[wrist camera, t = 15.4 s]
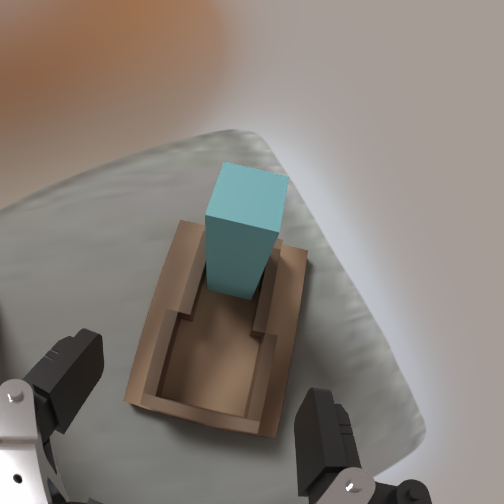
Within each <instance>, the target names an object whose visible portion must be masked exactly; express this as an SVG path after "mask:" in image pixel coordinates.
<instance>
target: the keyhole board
mask: <svg viewBox="0 0 504 504" xmlns="http://www.w3.org/2000/svg"><path fill="white" fill-rule="evenodd" d="M282 241H283V240H281V239H276V242H275V244H274V246H273V249H272V251H271V254H270V256H269V259H268V261H267V263H266V266H265V268H264V271H263V273H262V275H261V278H260V280H259V283H258V285H257V287H256V290H255V292H254V294H253V297H252V299H251V300H248V299H244V298H240V297H236V296H231V295H227V294H223V293H219V292H215V291H211V290H207V269H206V234H205V226H204V225H200V224H196V223H191V222H187V221H183V220H180V223H179V225H178V228H177V231H176V233H175V236H174V239H173V241H172V244H171V247H170V249H169V252H168V255H167V258H166V261H165V263H164V266H163V269H162V272H161V275H160V278H159V281H158V284H157V287H156V290H155V293H154V296H153V299H152V302H151V305H150V308H149V312H148V315H147V318H146V321H145V325H144V328H143V331H142V335H141V338H140V341H139V345H138V348H137V352H136V355H135V359H134V363H133V366H132V370H131V374H130V378H129V382H128V385H127V389H126V393H125V398H124V401H126V402H128V403H131V404H134V405H137V406H140V407H143V408H146V409H149V410H152V411H155V412H158V413H161V414H165V415H168V416H171V417H175V418H178V419H182V420H186V421H189V422H193V423H197V424H201V425H206V426H210V427H214V428H219V429H223V430H228V431H233V432H239V433H244V434H250V435H256V436H262V437H269V438H276V433H277V429H278V424H279V419H280V415H281V410H282V405H283V400H284V395H285V390H286V385H287V380H288V374H289V369H290V364H291V358H292V352H293V347H294V341H295V335H296V329H297V323H298V316H299V310H300V304H301V297H302V290H303V283H304V276H305V269H306V261H307V253H308V251H307V250H303V249H299V248H295V247H291V246H287V245H283V244H282Z"/></svg>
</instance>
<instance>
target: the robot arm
mask: <svg viewBox="0 0 504 504" xmlns="http://www.w3.org/2000/svg"><path fill="white" fill-rule="evenodd" d="M103 370H104V356H103V341H102V336H101V335H100V334H98V333H95V332H93V331H90V330H87V329H85V328H83V329H81V330H80V331H79V332H78V333H77V334H76V336H75V337H74V338H73V337H71V336H68V337H66V338H64V339H62V340H60V341H58V342H57V343H56V344H55V345H54V346H53V347H52V348H51V351H50V350H49V351H48V352H47V353H46V355H45V357H43V358H42V359H41V360H40V361H39V362H38V363H37V364H36V365H35V366H34V367H33V368H32V369H31V371H30V372H29V373H28V374H27V375H26V376H25V377H24V378H23V379H22V380H20V379H11V380H8V381H6V382H4V383H3V384H0V504H102V503H100V502H97V501H95V500H93V499H91V498H89V500H88V502H87V503H80V502H70V500H69V497H68V494H67V492H66V489H65V487H64V485H63V483H62V480H61V477H60V473H59V469H58V465H57V461H56V457H55V452H54V448H53V443H52V438H51V434H52V433H53V431H54V430H56V431H58V432H60V433H62V434H65V432H66V430H67V429H68V427H69V426H70V424H71V422H72V421H73V419H74V418H75V416H76V414H77V413H78V411H79V410H80V408H81V407H82V405H83V404H84V402H85V401H86V399H87V397H88V396H89V394H90V393H91V391H92V390H93V388H94V387H95V385H96V384H97V382H98V381H99V379H100V378H101V376H102V373H103ZM350 426H351V424H350V420H349V416H348V413H347V412H346V411H345V409H344V408H343V407H342V405H341V404H334V400H333V396H332V392H331V391H330V390H326V389H317V388H310V389H309V391H308V392H307V394H306V396H305V398H304V400H303V402H302V404H301V406H300V408H299V410H298V412H297V414H296V417H295V422H294V433H295V448H296V463H297V480H298V496H304V497H309V504H432V502H431V498H430V495H429V491H428V489H427V487H426V486H425V485H424V484H423V483H421V482H420V481H417V480H413V479H411V480H406V481H403V482H402V483H401V484H400V485H398V486H393V485H388V484H383V483H378V482H375V481H374V478H373V477H372V476H371V474H370V473H368V472H367V471H365V470H363V469H362V468H361V464H360V460H359V456H358V452H357V448H356V443H355V439H354V436H353V431H352V428H351V427H350Z"/></svg>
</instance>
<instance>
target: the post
mask: <svg viewBox="0 0 504 504" xmlns="http://www.w3.org/2000/svg"><path fill="white" fill-rule="evenodd" d="M288 179H289V177H287V176H283V175H279V174H275V173H271V172H267V171H263V170H258V169H254V168H250V167H245V166H241V165H236V164H232V163H227V162H224V164H223V166H222V169H221V172H220V174H219V177H218V180H217V183H216V185H215V188H214V191H213V194H212V197H211V199H210V202H209V205H208V208H207V211H206V214H205V234H206V269H207V290H211V291H215V292H219V293H223V294H227V295H231V296H236V297H240V298H244V299H248V300H251V299H252V297H253V294H254V292H255V290H256V287H257V285H258V283H259V280H260V278H261V275H262V273H263V271H264V268H265V266H266V263H267V261H268V259H269V256H270V254H271V251H272V249H273V246H274V244H275V242H276V239H277V237H278V234H279V231H280V225H281V220H282V214H283V209H284V203H285V197H286V191H287V185H288Z"/></svg>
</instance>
